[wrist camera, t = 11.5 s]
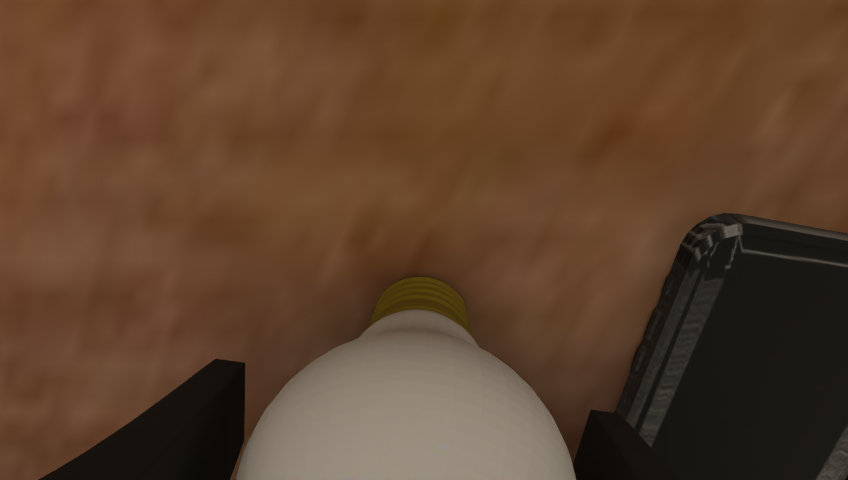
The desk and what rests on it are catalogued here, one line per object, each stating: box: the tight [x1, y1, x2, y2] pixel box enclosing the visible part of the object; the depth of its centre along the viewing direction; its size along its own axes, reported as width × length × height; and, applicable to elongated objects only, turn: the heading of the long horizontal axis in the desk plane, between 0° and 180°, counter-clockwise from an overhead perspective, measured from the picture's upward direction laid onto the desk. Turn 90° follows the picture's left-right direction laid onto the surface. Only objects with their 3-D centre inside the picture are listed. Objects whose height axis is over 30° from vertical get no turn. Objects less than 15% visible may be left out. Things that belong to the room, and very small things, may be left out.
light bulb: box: [235, 277, 576, 480], centre depth 11 cm, size 6×6×10 cm
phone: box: [615, 213, 848, 480], centre depth 18 cm, size 8×1×15 cm
